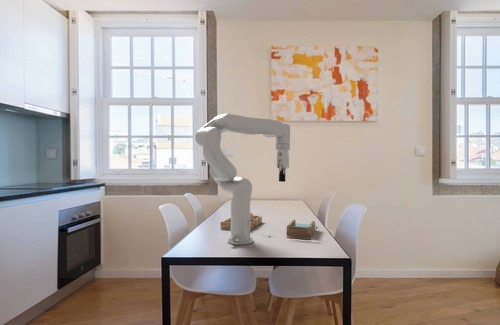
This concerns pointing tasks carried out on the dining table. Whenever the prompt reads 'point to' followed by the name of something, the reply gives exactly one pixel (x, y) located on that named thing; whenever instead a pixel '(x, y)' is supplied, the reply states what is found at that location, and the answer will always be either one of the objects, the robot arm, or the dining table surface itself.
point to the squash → (251, 217)
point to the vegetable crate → (258, 219)
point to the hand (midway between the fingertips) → (282, 181)
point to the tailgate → (304, 225)
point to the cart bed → (300, 230)
